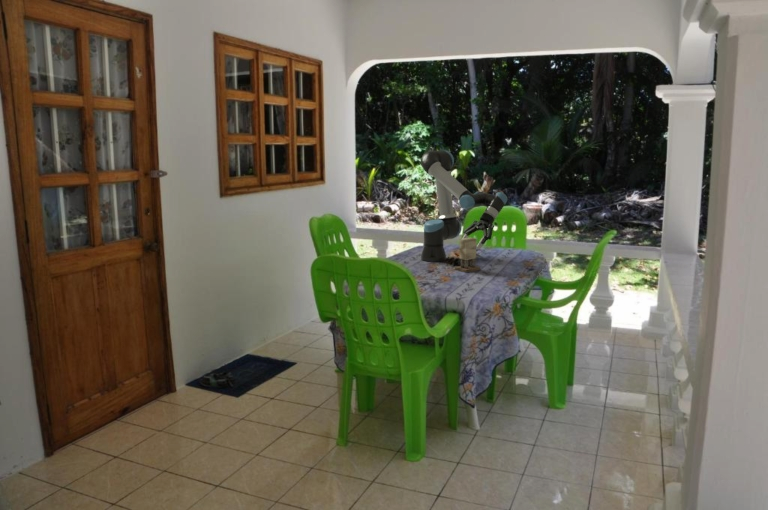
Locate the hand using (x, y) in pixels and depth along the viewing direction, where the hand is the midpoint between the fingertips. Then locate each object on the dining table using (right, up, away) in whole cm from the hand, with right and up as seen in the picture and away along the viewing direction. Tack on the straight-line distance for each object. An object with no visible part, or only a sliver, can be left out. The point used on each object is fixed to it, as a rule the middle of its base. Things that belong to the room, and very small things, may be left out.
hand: (469, 246), depth 345 cm
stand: (-1, -13, +3) cm, 13 cm away
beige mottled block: (-1, -7, +2) cm, 7 cm away
